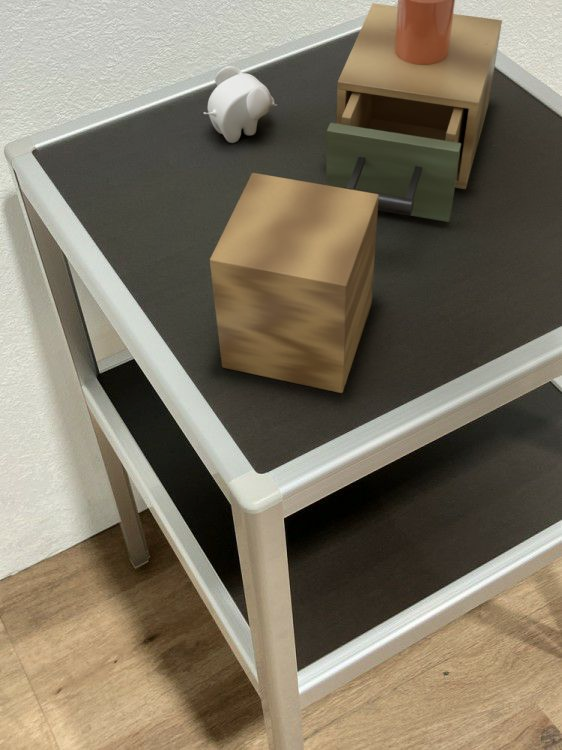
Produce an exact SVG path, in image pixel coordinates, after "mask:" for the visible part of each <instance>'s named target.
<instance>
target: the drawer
mask: <svg viewBox="0 0 562 750" xmlns="http://www.w3.org/2000/svg"><path fill="white" fill-rule="evenodd" d="M468 110H469V109H467V108H460V107H454V106H447V105H440V104H434V103H427V102H420V101H414V100H407V99H400V98H394V97H387V96H380V95H374V94H367V93H360V92H354V91H353V92H352V94H351V97H350V99H349V101H348V104H347V106H346V109H345V111H344V113H343V116H342V124H337V123H336V122H330V123H329V125H328V127H327V129H326V159H325V160H326V162H325V163H326V164H325V165H326V166H325V167H326V168H325V173H326V174H325V179H326V180H325V185H327V186H333V187H339V188H345V189H351V190H356V191H362V192H368V193H374V194H378V195H379V198H378V211H381V212H387V213H393V214H398V215H404V216H409V217H410V216H412V217H417V218H423V219H429V220H434V221H440V222H446V223H449V222H450V219H451V216H452V212H453V211H452V210H453V204H454V196H455V190H456V188H455V184H456V177H457V170H458V163H459V156H460V152H461V148H462V145H463V141H464V138H465V131H466V124H467V117H468Z"/></svg>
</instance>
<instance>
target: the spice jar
mask: <svg viewBox="0 0 562 750" xmlns="http://www.w3.org/2000/svg"><path fill="white" fill-rule="evenodd" d="M455 5H456V0H397V19H396V33H395V47H394V50H395V53H396V54H397V56H398V57H399V58H401V59H402V60H404V61H406V62H409V63H412V64H418V65H428V64H434V63H437V62H440V61H442V60H443V59H445V58H446V57H447V55H448V53H449V48H450V40H451V32H452V23H453V15H454V14H455V13H454V12H455Z"/></svg>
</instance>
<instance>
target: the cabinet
mask: <svg viewBox="0 0 562 750" xmlns="http://www.w3.org/2000/svg"><path fill="white" fill-rule="evenodd" d="M396 19H397V6H396V5H388V4H380V3H372V4H371V5H370V8H369V10H368V13H367V14H366V17H365V20H364V22H363V24H362V26H361V29H360V30H359V33H358V34H357V37H356V39H355V42H354V44H353V46H352V48H351V51H350V53H349V55H348V58H347V60H346V62H345V64H344V66H343V69H342V71H341V73H340V76H339V78H338V80H337V86H336V87H337V88H336V89H337V90H336V91H337V92H336V124H342V116H343V113H344V111H345V109H346V106H347V104H348V101H349V99H350V97H351V94H352V92H353V91H354V92H360V93H367V94H374V95H380V96H387V97H394V98H400V99H407V100H414V101H420V102H427V103H434V104H440V105H447V106H454V107H460V108H467V109H469V110H468V117H467V124H466V131H465V138H464V141H463V145H462V148H461V152H460V156H459V163H458V170H457V177H456V184H455V189H461V190H466V189H467V186H468V182H469V178H470V176H471V171H472V168H473V163H474V160H475V156H476V152H477V149H478V144H479V141H480V138H481V134H482V130H483V126H484V123H485V119H486V116H487V112H488V108H489V104H490V97H491V91H492V86H493V78H494V73H495V67H496V62H497V61H496V60H497V56H498V55H497V54H498V49H499V44H500V43H499V42H500V36H501V31H502V25H503V20H502V19H496V18H487V17H481V16H480V17H479V16H474V15H473V16H472V15H467V14H466V15H465V14H458V13H454V15H453V23H452V32H451V40H450V48H449V53H448V55H447V57H446V58H445V59H443V60H442V61H440V62H437V63H434V64H428V65H418V64H412V63H409V62H406V61H404V60H402V59H401V58H399V57H398V56H397V54H396V53H395V50H394V47H395V33H396Z"/></svg>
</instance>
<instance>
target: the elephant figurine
mask: <svg viewBox="0 0 562 750" xmlns="http://www.w3.org/2000/svg"><path fill="white" fill-rule="evenodd" d="M214 82H215V84H216V87H215V88H214V89H213V91H211V94H210V95H209V98H208V102H207V112H206V111H204V112H203V115H208V117H209V119H210V122H211V124H212V126H213V128H214V129H215V131H216V132H217V133H218V134H221V135H223V137H224V138H225V140H226V141H227V142H228V143H231V144H234V143H237V142H239V140H240V139H241V135H242V131H243V133H244V135H245V136H254V135H255V134H256V132H257V127H258V121H259V119H260V118H262V117H264V116H265V115H267V114H268V113H269V111H270V110H271V109H272V108H273V107H276V106H278V104H276V103H275V98H274V97H273V96H272V95H271V93H270V91H269V89H268V87H267V86H266V85H265V84H263V83H262V82H261V81H260V80H259V79H257V78H256V76H254V75H252V74H250V73H244V72H243V71H242V70H240V69H239V68H238V67H237V66H234V65H228V66H225V67H223V68H222V69H220V70H219V71H218V72H217V73H216V75H215V78H214Z"/></svg>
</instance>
